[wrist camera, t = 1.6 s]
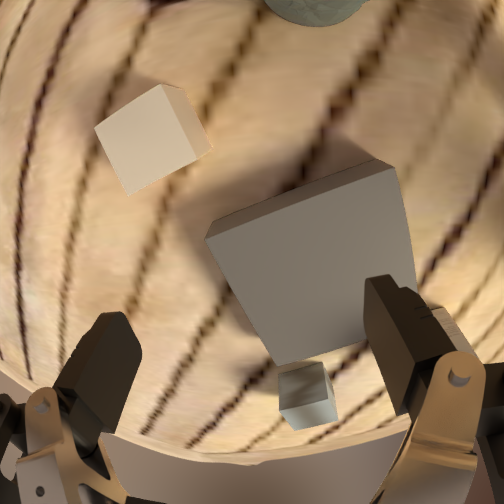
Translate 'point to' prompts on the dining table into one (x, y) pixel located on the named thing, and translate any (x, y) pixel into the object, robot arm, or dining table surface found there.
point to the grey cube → (307, 397)
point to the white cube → (152, 137)
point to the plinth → (315, 258)
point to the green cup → (315, 10)
